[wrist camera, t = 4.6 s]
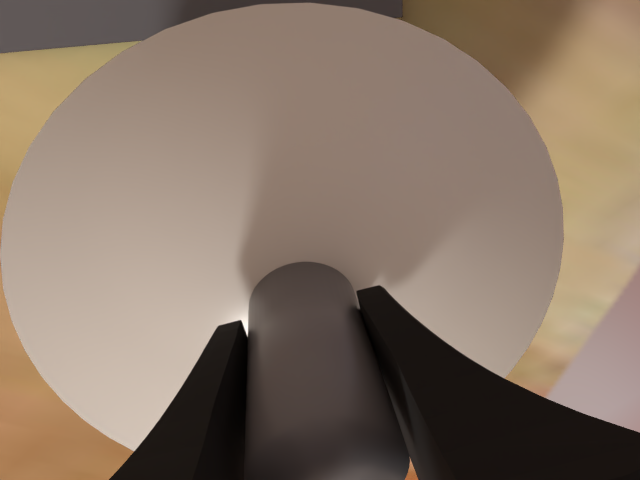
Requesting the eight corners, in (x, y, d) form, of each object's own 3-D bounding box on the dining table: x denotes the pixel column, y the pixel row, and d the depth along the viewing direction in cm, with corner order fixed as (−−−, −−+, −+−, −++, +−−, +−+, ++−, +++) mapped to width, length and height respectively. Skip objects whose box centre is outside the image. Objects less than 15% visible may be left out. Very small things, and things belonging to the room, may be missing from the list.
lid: (556, -76, 9) (900, -168, 4) (542, 399, 17) (666, 572, 12) (-128, 101, 9) (-573, 215, 4) (155, 501, 17) (110, 718, 12)
